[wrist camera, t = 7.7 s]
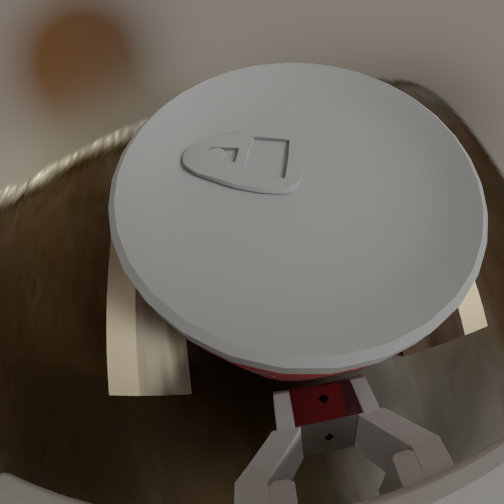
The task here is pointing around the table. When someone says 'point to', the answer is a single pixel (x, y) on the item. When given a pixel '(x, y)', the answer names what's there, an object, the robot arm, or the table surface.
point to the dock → (175, 344)
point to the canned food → (298, 219)
